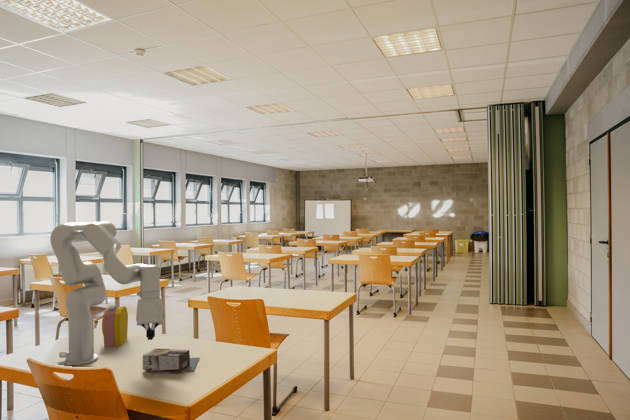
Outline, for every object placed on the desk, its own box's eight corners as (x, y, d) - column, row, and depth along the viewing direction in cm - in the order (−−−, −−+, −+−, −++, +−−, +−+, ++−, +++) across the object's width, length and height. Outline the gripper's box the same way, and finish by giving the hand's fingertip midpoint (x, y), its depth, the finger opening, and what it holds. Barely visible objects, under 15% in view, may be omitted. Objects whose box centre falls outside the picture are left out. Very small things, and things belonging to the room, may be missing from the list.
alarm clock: (110, 338, 212) (110, 302, 212) (128, 337, 214) (127, 301, 214) (101, 348, 198) (101, 309, 198) (119, 346, 199) (119, 308, 199)
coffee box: (142, 370, 168) (178, 373, 165) (142, 354, 168) (178, 356, 165) (155, 363, 177) (190, 365, 174) (155, 347, 177) (190, 349, 174)
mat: (149, 374, 166) (149, 373, 166) (158, 360, 180) (158, 359, 180) (193, 371, 168) (193, 370, 168) (199, 358, 183) (199, 357, 183)
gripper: (128, 297, 169) (128, 342, 169) (166, 295, 170) (167, 340, 170) (134, 293, 176) (134, 337, 176) (170, 292, 178) (171, 335, 178)
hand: (150, 338), depth 173 cm, fingers closed
